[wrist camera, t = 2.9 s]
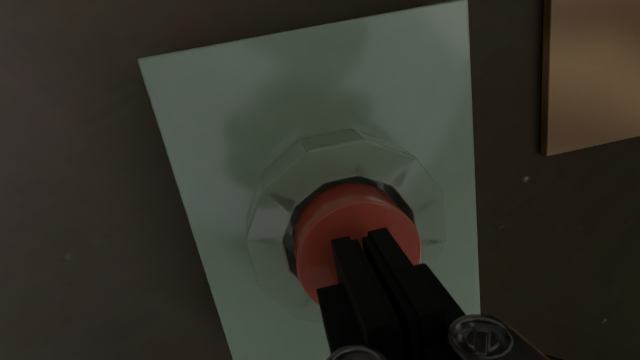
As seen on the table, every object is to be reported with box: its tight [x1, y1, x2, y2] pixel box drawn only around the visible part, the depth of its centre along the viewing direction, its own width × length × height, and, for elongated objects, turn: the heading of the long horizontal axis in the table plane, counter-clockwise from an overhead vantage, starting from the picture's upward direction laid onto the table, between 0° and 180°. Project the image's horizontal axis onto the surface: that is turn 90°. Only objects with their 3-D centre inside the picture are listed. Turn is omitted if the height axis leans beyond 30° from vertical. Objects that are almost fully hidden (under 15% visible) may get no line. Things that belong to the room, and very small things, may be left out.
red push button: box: [292, 183, 422, 305], centre depth 13 cm, size 4×4×2 cm
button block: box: [138, 0, 480, 360], centre depth 16 cm, size 14×11×5 cm
